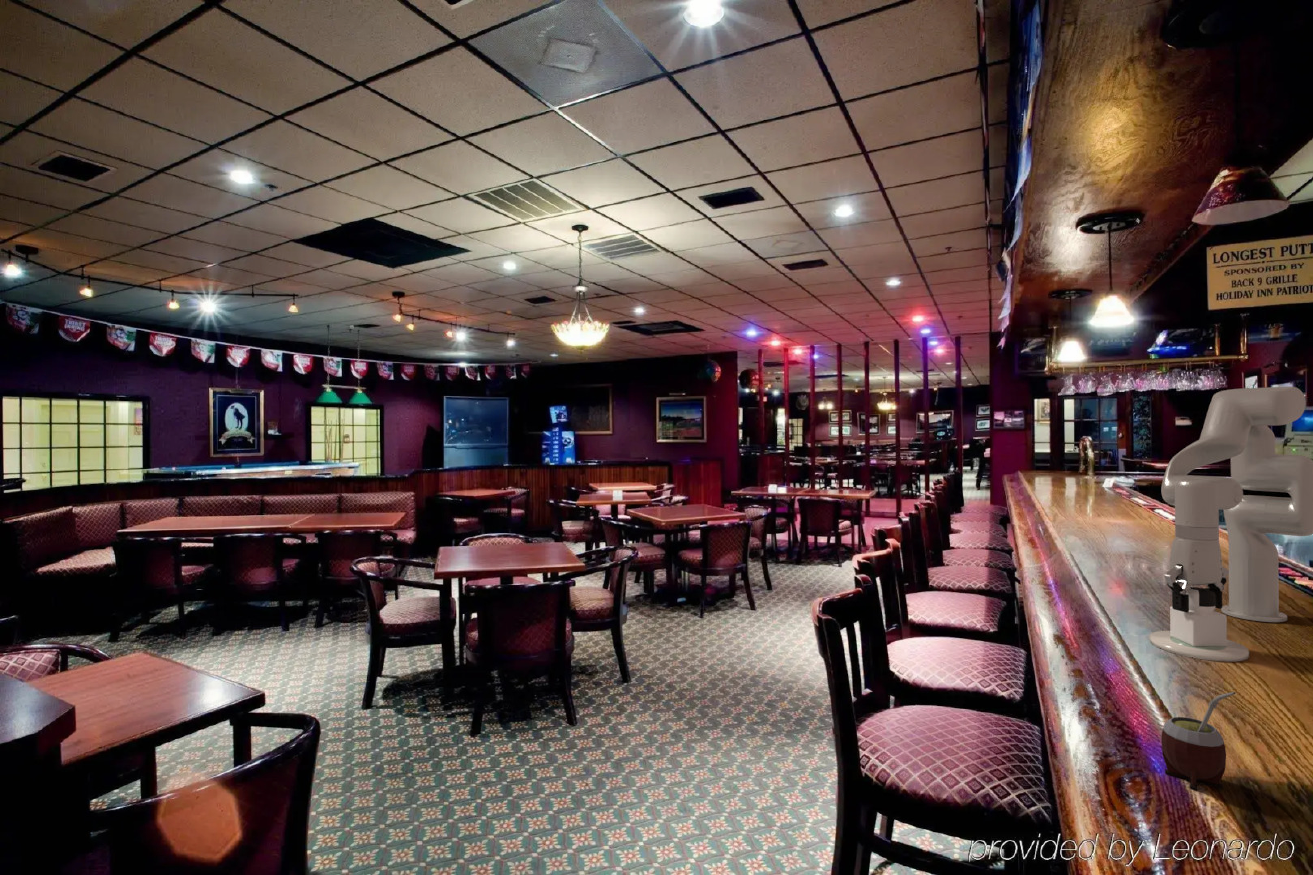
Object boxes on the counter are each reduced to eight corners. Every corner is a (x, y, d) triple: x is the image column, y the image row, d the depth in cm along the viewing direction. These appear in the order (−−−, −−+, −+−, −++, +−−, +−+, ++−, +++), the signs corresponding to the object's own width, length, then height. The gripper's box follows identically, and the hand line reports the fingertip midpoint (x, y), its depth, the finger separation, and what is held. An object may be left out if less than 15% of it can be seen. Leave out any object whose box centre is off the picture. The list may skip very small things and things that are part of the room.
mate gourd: (1162, 762, 95) (1161, 663, 95) (1232, 780, 90) (1232, 675, 90) (1161, 784, 89) (1160, 679, 89) (1236, 804, 84) (1235, 692, 84)
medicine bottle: (1201, 636, 146) (1201, 585, 146) (1227, 647, 139) (1227, 593, 139) (1169, 636, 146) (1169, 585, 146) (1193, 646, 139) (1193, 592, 139)
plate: (1153, 631, 155) (1153, 625, 155) (1248, 646, 143) (1248, 640, 143) (1146, 649, 142) (1146, 643, 142) (1249, 667, 131) (1249, 661, 131)
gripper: (1207, 529, 148) (1208, 601, 148) (1150, 533, 144) (1150, 607, 144) (1244, 534, 141) (1244, 610, 141) (1184, 538, 137) (1185, 617, 137)
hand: (1197, 608), depth 143 cm, fingers open, 9 cm apart
